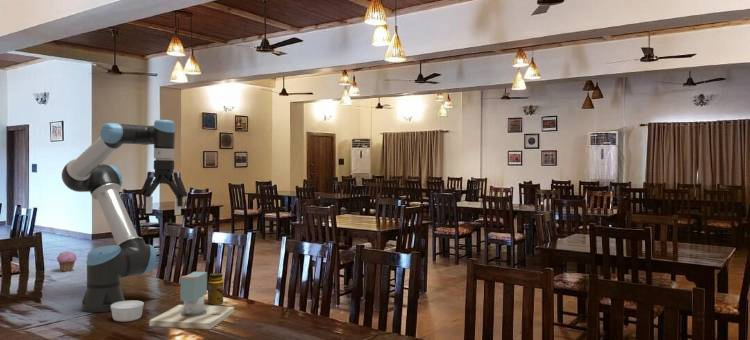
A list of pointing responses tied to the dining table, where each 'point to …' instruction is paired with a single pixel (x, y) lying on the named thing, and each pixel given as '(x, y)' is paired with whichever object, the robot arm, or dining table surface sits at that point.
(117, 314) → the ramekin
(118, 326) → the dining table surface
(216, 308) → the post base
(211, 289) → the condiment
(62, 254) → the cupcake
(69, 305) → the dining table surface
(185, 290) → the teal block on base
